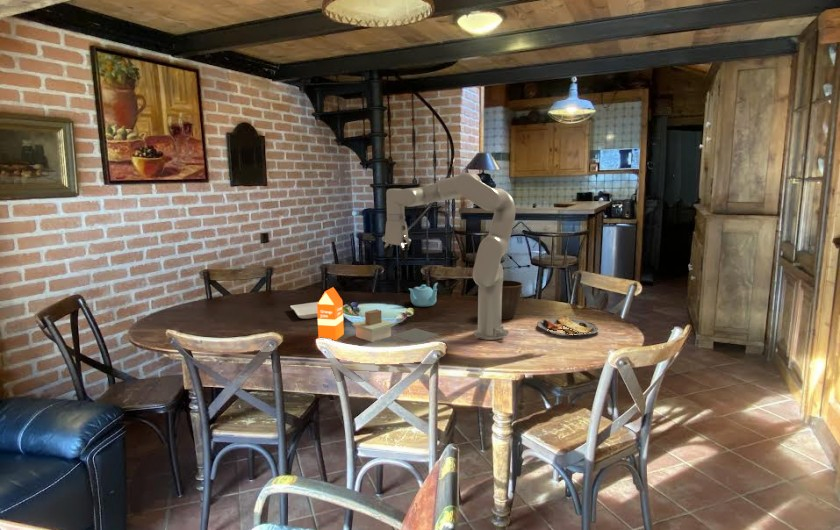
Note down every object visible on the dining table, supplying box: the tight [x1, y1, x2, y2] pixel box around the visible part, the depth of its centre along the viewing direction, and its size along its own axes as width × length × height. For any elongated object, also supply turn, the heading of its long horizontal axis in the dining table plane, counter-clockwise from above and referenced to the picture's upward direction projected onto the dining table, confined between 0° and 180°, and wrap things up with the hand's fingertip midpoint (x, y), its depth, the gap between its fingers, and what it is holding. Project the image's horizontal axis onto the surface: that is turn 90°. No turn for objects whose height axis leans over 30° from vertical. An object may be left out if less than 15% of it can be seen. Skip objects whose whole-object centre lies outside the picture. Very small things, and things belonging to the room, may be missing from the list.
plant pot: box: [501, 279, 523, 320], centre depth 240 cm, size 15×15×16 cm
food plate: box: [536, 315, 600, 337], centre depth 221 cm, size 25×23×4 cm
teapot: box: [407, 282, 439, 308], centre depth 267 cm, size 15×15×10 cm
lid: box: [352, 309, 395, 332], centre depth 211 cm, size 12×12×6 cm
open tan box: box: [355, 326, 392, 343], centre depth 212 cm, size 10×10×5 cm
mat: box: [391, 327, 439, 343], centre depth 214 cm, size 14×14×1 cm
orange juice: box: [317, 286, 345, 341], centre depth 213 cm, size 8×9×20 cm
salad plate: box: [290, 301, 319, 320], centre depth 251 cm, size 21×21×3 cm
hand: (396, 257), depth 224 cm, fingers open, 9 cm apart
